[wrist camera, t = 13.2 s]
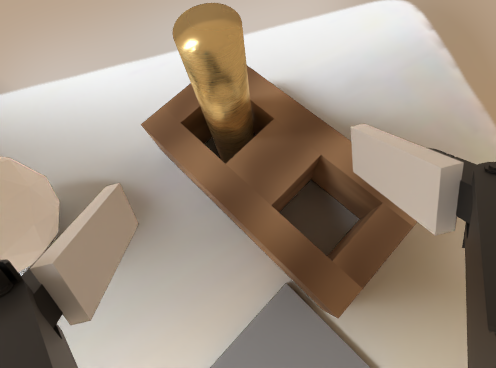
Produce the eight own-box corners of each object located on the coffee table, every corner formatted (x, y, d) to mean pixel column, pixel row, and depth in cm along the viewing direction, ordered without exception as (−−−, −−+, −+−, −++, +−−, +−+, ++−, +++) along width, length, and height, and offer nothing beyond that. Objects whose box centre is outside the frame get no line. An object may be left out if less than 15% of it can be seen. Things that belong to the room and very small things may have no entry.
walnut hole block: (163, 152, 24) (140, 124, 20) (235, 89, 26) (228, 52, 21) (323, 310, 19) (338, 318, 15) (399, 218, 20) (433, 201, 16)
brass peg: (211, 150, 24) (158, 31, 12) (237, 127, 24) (209, -7, 13) (236, 174, 23) (204, 66, 11) (263, 149, 23) (256, 24, 12)
